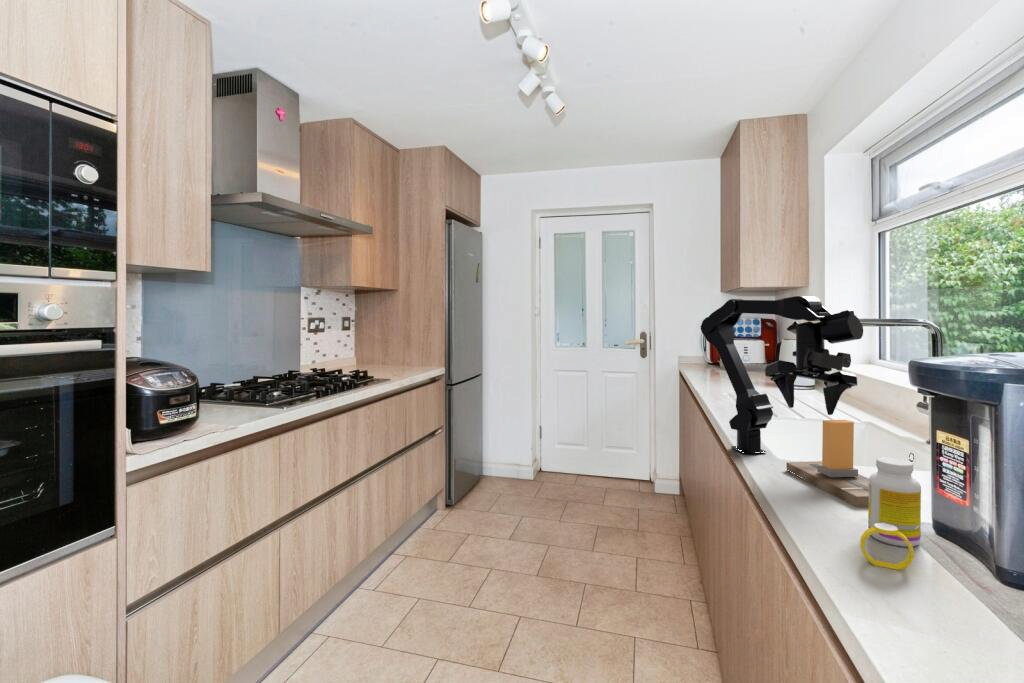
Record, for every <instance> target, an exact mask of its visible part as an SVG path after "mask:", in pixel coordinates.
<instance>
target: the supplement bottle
mask: <svg viewBox="0 0 1024 683" xmlns="http://www.w3.org/2000/svg"><path fill="white" fill-rule="evenodd" d="M875 460H876V461H875V462H876V463H875V466H876V468H877V471H875V472H873V473H871V475H869V477H868V478H869V507H868V515H867V516H868V519H867V520H868V521H867V524H868V526H867V527H868V529H869V528H872V527H874V524H875V523H886V524H890V525H893V526H895V527H897V528H898V531H899V532H901V533H902V534H904V536H906V538H907V539H908V541H909V542H910V544H911V545H912V547H913V548H914V547H916V546H918V545H919V544H920V543H921V536H922V535H921V526H922V525H921V521H922V518H921V512H922V511H921V509H922V506H921V505H922V486H921V484H920V482H919V480H916V478H914V477H912V474H913V472H914V463H913V462H912V461H910V460H906V459H902V458H896V457H888V456H885V457H883V456H882V457H881V456H880V457H877V458H876V459H875ZM870 536H871V537H873V538H874V539H875V540H878V541H880V542H882V543H884V544H887V545H892V546H896V547H903V548H905V547H906V548H908V545H907V544H906V542H905V541H904V540H903V539H902V538H900V537H899V536H897V535H886V534H882V533H879V532H877V533H873V534H871V535H870Z"/></svg>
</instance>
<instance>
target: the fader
mask: <svg viewBox="0 0 1024 683" xmlns="http://www.w3.org/2000/svg"><path fill="white" fill-rule="evenodd" d="M854 424H855V423H854V422H853V421H851V420H846V419H829V420H827V419H824V420H822V447H821V448H822V449H821V450H822V453H821V455H822V456H821V458H822V465H818V472H820V473H822V474H824V475H826V476H828V477H858V474H859V469H858V468H855V467H854V444H855V443H854V439H855V437H854V434H855V432H854V431H855V426H854Z"/></svg>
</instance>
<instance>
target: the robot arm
mask: <svg viewBox="0 0 1024 683" xmlns="http://www.w3.org/2000/svg"><path fill="white" fill-rule="evenodd" d="M743 314H756V315H775V316H778V317H782V318H785V319H790V320H794V321H793V322H792V324H791V325H789V326H788V327H787V328H786V331H788V332H791V333H792V334H795V350H794V351H792V357H795V362H791V361H786V360H780V359H779V360H777V361H774V362H771V363H769V364H768V365H766V367H765V369H764V370H765V374H764V375H765V377H768V378H769V377H770V381H771V382H774V383H775V385H776V387H777V389H778V390H779V391H780V394H781V395H782V397H783V399H784V400H785V403H786V404H787V406H788V409H789V408H790V409H793V408H794V407H795V406H794V405H795V383H796V379H797V378H803V379H810V380H813V381H819V382H823V385H824V386H825V387H823V388H822V390H823V396H824V404H825V409H826V413H827V415H828V416H831V415H832V416H833V414H834V412H835V410H836V408H837V405H838V402H839V400H840V398H841V396H842V395H843V393H844V392H845V391H846V390H850V389H852V387H856V386H858V377H857V376H856V374H854V373H853V372H846V371H843V368H847V369H848V368H850V366H851V363H852V357H851V354H850V353H848V352H847V353H846V352H841V351H839V352H837V354H836V355H835V354H831V353H830V350H829V349H827V348H825V341H827V342H828V343H829V344H840V343H843V342H844V343H845V342H849V341H850V342H851V341H857V340H860V339H862V338H863V336H864V326H863V323H861V321H860V319H859V318H858V316H857V315H855V312H854V310H853V309H847V310H846V309H845V310H842V311H840V312H837V313H832V312H830V310H828V309H827V308H826V307H825V306H823V303H822V302H821V300H820V299H819V297H816V296H808V295H805V296H804V295H799V296H798V295H797V296H796V295H795V296H789V297H784V298H780V299H774V300H772V299H771V300H770V299H769V300H765V299H762V300H760V299H759V300H758V299H742V298H730V299H728V300H727V301H726V302H725V303H724V304H723V305H721V306H720V307H719V308H718V309H716V310H714V311H713V312H712V313H710V315H709V316H707V317H705V318H704V319H703V320H702V321H701V325H700V331H701V334H702V336H704V338H705V340H706V341H707V342H708V343H709V344H710V345H711V346H713V348H715V349H716V351H717V354H718V356H719V358H720V361H721V363H722V366H723V367H724V370H725V372H726V374H727V377H728V380H729V381H730V383H731V384H730V385H732V389H733V390H734V393H735V395H736V399H735V400H736V401H735V410H736V413H737V414H735V416H732V418H731V419H730V420H729V421H728V423H729V427H730V429H731V430H735V431H736V445H732V446H731V449H733V450H734V449H737V450H738V449H739V450H742V451H741V452H744V453H755V452H763V451H764V452H766V453H767V451H766V450H764V449H761V448H762V446H761V444H762V443H761V441H762V440H761V439H762V438H761V435H762V434H761V433H762V432H761V430H762V429H766V428H767V426H768V423H769V422H771V420H772V417H773V415H774V412H773V409H774V405H772V403H771V402H770V400H769V396H768V394H767V393H760V392H758V391H757V390H756V388H755V386H754V384H753V382H752V380H751V377H750V376H749V373H748V371H747V369H746V367H745V365H744V362H743V360H742V358H741V356H740V354H739V351H738V349H737V347H736V345H735V329H734V327H735V326H736V325H737V324H738V323H739V321H740V319H741V316H742V315H743ZM804 320H805V322H801V323H799V322H797V321H804ZM833 369H835V370H837V371H836V372H832V370H833ZM826 372H832V373H826ZM736 446H737V448H736Z"/></svg>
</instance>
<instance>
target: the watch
mask: <svg viewBox="0 0 1024 683" xmlns="http://www.w3.org/2000/svg"><path fill="white" fill-rule="evenodd" d="M877 532H879V533H882V534H886V535H897V536H899V537H900V538H902V539H903V540H904V541H905V542H906V544H907V545H908V547H907V549H908V554H907V555H906V557H905V558H904V560H903V561H899V562H898V563H893V562H892V563H891V562H886V561H881V560H876V559H874V557H872V556H871V555H870V554H868V552H867V550H866V548H865V546H866V545H865V544H866V540H867V539H868V538H870V536H871V534H873V533H877ZM859 545H860V548H861V551H862V553H863V555H864V558H865V559H866V560H868V561H869V563H871V564H872V565H873V566H875V567H879V568H880V567H881V568H887V569H892V570H896V571H902V570H905V569H906V568H908V567H910V565H911V564H912V562H913V560H914V559H915V558H914V557H915V555H914V546H913V547H912V545H911V544H910V542H909V541H908V539H907V538H906V536H904V534H902V533H901V532H899V531H898V528H897V527H895V526H893V525H890V524H886V523H875V524H874V527H872V528H869V529H866V530H864V532H863V533H862V534H861V536H860V542H859Z"/></svg>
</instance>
